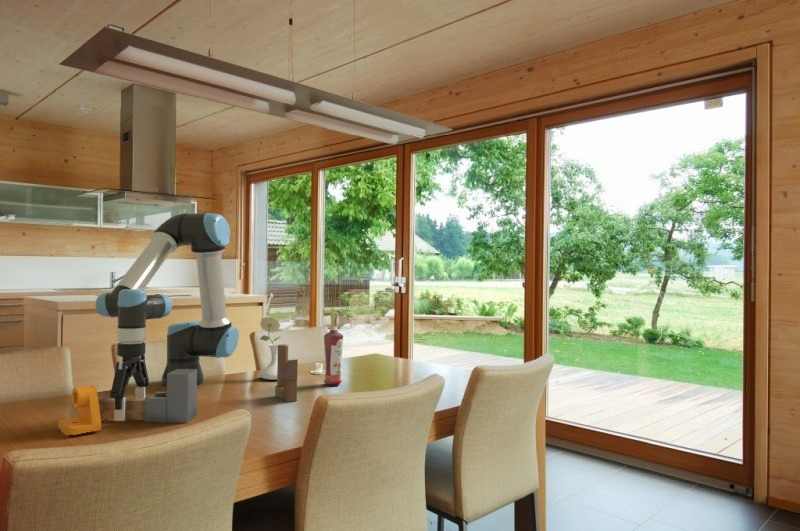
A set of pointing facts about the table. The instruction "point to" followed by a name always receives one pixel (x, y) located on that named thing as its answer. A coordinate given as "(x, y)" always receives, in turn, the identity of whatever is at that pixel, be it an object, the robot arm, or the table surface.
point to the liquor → (333, 353)
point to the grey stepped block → (174, 399)
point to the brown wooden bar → (132, 408)
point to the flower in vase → (270, 326)
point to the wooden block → (286, 376)
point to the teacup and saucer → (318, 369)
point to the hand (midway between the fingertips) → (130, 414)
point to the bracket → (83, 412)
